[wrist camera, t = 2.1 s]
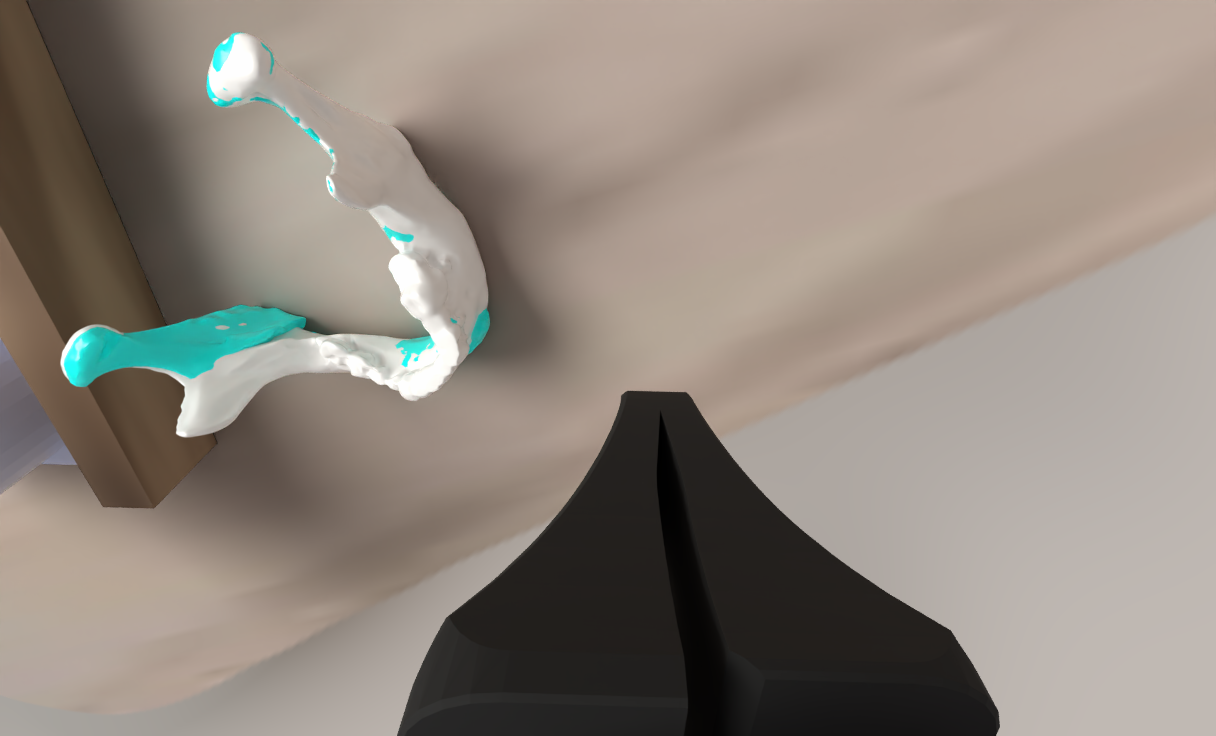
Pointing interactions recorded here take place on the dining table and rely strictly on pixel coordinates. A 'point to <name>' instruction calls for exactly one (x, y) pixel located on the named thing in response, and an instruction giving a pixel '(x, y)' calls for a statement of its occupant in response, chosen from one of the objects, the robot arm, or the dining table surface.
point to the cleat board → (77, 285)
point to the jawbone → (275, 340)
